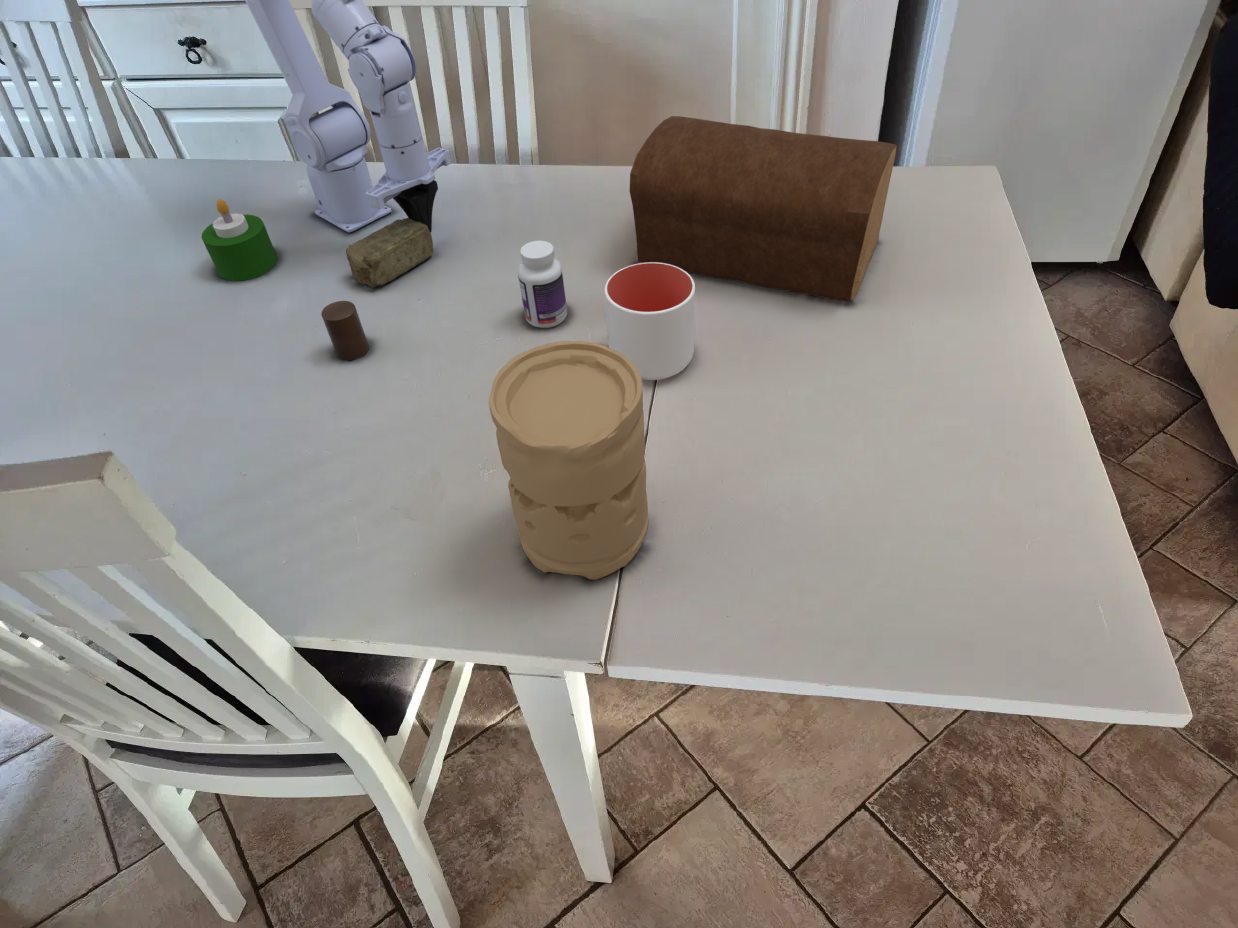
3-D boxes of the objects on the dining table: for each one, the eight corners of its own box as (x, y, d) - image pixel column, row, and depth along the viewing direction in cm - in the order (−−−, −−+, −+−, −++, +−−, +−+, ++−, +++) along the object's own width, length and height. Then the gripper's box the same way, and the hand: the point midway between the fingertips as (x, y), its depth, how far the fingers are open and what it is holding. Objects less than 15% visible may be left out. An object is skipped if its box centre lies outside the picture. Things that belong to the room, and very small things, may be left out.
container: (655, 574, 75) (650, 434, 62) (519, 587, 74) (485, 449, 61) (641, 475, 83) (634, 334, 70) (519, 487, 83) (490, 347, 70)
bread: (677, 204, 121) (677, 95, 110) (880, 237, 112) (903, 122, 100) (630, 268, 110) (624, 154, 98) (851, 311, 101) (874, 190, 89)
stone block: (439, 255, 115) (431, 223, 111) (376, 294, 109) (365, 262, 105) (412, 243, 118) (403, 211, 114) (349, 281, 112) (338, 249, 108)
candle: (231, 287, 112) (201, 222, 105) (208, 264, 116) (177, 200, 109) (287, 264, 115) (261, 199, 108) (262, 242, 120) (236, 178, 113)
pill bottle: (574, 309, 104) (567, 241, 97) (555, 333, 101) (546, 265, 94) (538, 300, 106) (528, 233, 99) (517, 323, 103) (505, 256, 96)
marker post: (330, 352, 101) (314, 312, 96) (356, 336, 103) (342, 296, 98) (348, 364, 99) (333, 324, 94) (375, 348, 101) (361, 308, 96)
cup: (703, 339, 98) (705, 268, 91) (680, 392, 92) (680, 320, 85) (625, 326, 101) (621, 256, 94) (597, 377, 95) (591, 305, 87)
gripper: (384, 168, 100) (410, 264, 110) (459, 122, 109) (477, 215, 118) (343, 157, 103) (372, 251, 113) (419, 113, 111) (440, 204, 121)
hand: (423, 232), depth 116 cm, fingers closed
